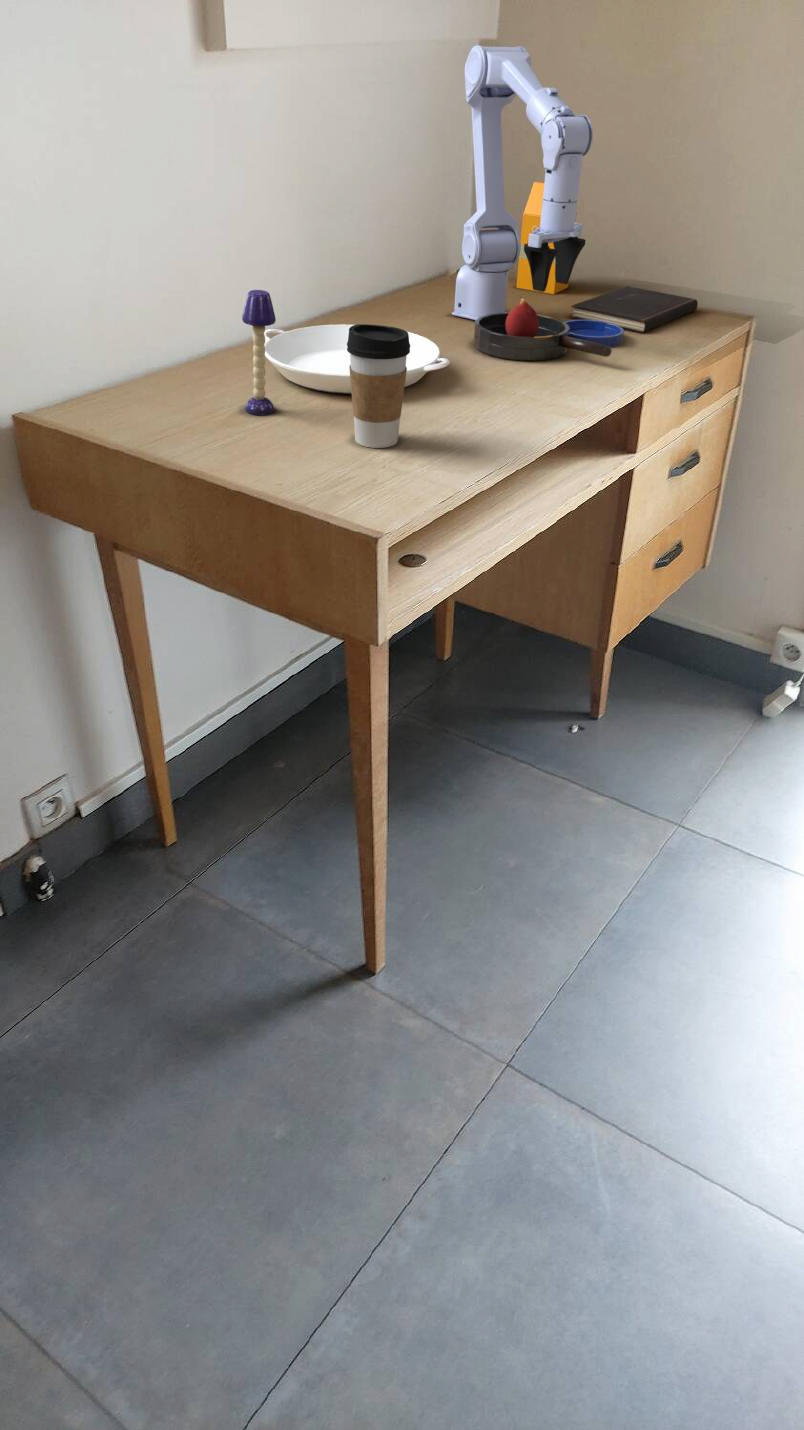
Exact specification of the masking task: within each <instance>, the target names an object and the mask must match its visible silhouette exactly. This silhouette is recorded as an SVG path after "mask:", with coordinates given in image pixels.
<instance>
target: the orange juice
mask: <svg viewBox="0 0 804 1430" xmlns="http://www.w3.org/2000/svg"><path fill="white" fill-rule="evenodd" d="M544 182H545V181H543V182H542V181H533V185H532V187H531V190H530V193H529V196H528V199H527V203H526V205H525V209H524V210H523V211H524V212H523V213H522V222H521V231H520V232H521V234H520V241H521V251H520V255H519V257H518V266H517V275H516V276H517V277H516V289H521V290H527V291H534V292H539V293H544V294H551V295H555V294H558V293H559V292H561V291H563V290H566V289H567V288H569V282H570V281H568V283H567V284H563V283H558V282H556V281H555V258H554V260H553V263H552V266H551V269H550V273H549V278H548V283H547V287H546V290H545V291H544V292H542V291H537V290H533V286H532V278H531V271H530V266H529V262H528V259H527V256H526V254H525V252H524V244H527V243H528V242H529V234H530V233H533V232H534V231H535V230H537V229H538V228H539V227H540V221H541V211H542V201H543V192H544ZM577 215H578V213H577V211H576V217H575V223H577ZM548 246H550V247H549V248H551V249H554V245H553V242H552V243H549V244H548Z"/></svg>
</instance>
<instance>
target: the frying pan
mask: <svg viewBox="0 0 804 1430" xmlns="http://www.w3.org/2000/svg"><path fill="white" fill-rule="evenodd" d="M510 312H511V311H508V312H507V313H495V314H488V315H485V316H482V317H479V318H478V319H477V320H474V329H473V330H474V332H473V346H474V348H476V349H477V350H478V351H480V352H482V353H484V354H486V355H489V356H491V357H495V358H499V359H504V360H512V361H523V362H524V361H525V362H526V361H528V362H531V361H546V360H550V359H554V358H557V357H560V356H563V355H564V354H565V353H566V352H567V351H568V348H565V347H561V346H559V340H560V338H561V336H567V337H569V330H570V328H569V326H568V324H566V323H565V321H563V320H560V319H558V318H556V317H553V316H547V315H544V314H537V313H536V314H537V316H538V320H539V328H538V332H537V334H536V335H535V337H523V336H512V335H508V334H507V331H506V319H507V316H508V314H509V313H510Z"/></svg>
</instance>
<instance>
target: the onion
mask: <svg viewBox="0 0 804 1430" xmlns="http://www.w3.org/2000/svg"><path fill="white" fill-rule="evenodd" d="M509 312H510V313H509ZM509 312H508V313H509V314H508V316H507V319H506V331H507V334H508V335H512V336H523V337H535V335H536V334H537V332H538V328H539V320H538V316H537V312H536V310H535V309H534V308H533V307H532V306H531V305H530V304H529V302H527V300H526V299H525V298H521V299H520V302H519V304H518V305H516V306H515V307H514V308H512V309H511V310H510V311H509Z"/></svg>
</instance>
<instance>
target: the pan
mask: <svg viewBox="0 0 804 1430" xmlns="http://www.w3.org/2000/svg"><path fill="white" fill-rule="evenodd" d="M353 325H354V324H346V323H345V324H344V323H343V324H323V325H312V326H305V327H299V328H295V329H290V330H287V331H284V330H283V329H276V328H275V329H273V328H272V329H265V332H264V335H265V343H264V346H265V355H264V356H265V358H266V359H267V360H268V361H269V362H270V363H271V364H272V366H273V367H274V368H275V369H276V370H277V371H278V372H279V373H280V374H281V375H282V376H283V377H284V378H285V379H286V380H288V381H290V382H292V383H294V384H296V385H298V386H301V387H303V388H307V389H310V390H315V391H320V392H325V393H326V392H327V393H331V394H333V393H334V394H345V395H346V394H347V395H352V393H351V381H350V369H349V366H350V364H351V362H350V353H349V352H348V351H347V342H348V335H349V328H350V327H351V326H353ZM405 331H406V330H405ZM406 332H408V334H409V343H410V353H409V354H408V355H407V358H406V367H407V372H406V379H405V387H404V388H406V387H407V388H408V387H409V386H412V385H414V384H415V383H418V382H419V380H421V379H422V378H423V377H424V376H425V375H426V374H427V373H428V372H430V371H437V370H440V369H444V368H446V367H447V366H449V365H450V363H451V362H450V360H449V359H448V358H445V357H441V350H440V348H439V346H437V344H436V343H434V342H433V341H432V340H430V339H429V338H427V337H425V336H422V335H420V334H416V333H413V332H411V331H406ZM267 334H275V335H274V336H273V337H269V336H268V335H267Z"/></svg>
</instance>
